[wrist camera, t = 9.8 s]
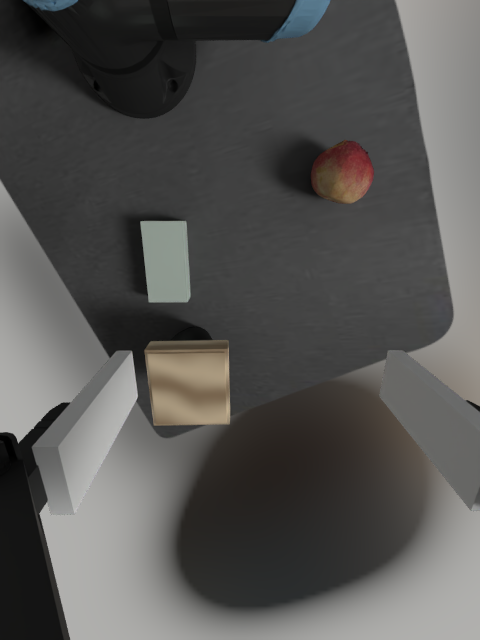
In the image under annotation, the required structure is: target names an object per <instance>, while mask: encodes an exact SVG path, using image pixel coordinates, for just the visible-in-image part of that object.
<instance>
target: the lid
mask: <svg viewBox="0 0 480 640" xmlns="http://www.w3.org/2000/svg"><path fill="white" fill-rule="evenodd" d="M144 351H145V359H146V367H147V375H148V383H149V390H150V398H151V406H152V414H153V422H154V426H155V425H209V424H230V388H229V348H228V340H200V341H150V343H149V344H148V346H147V347H146V349H145V350H144Z"/></svg>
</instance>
